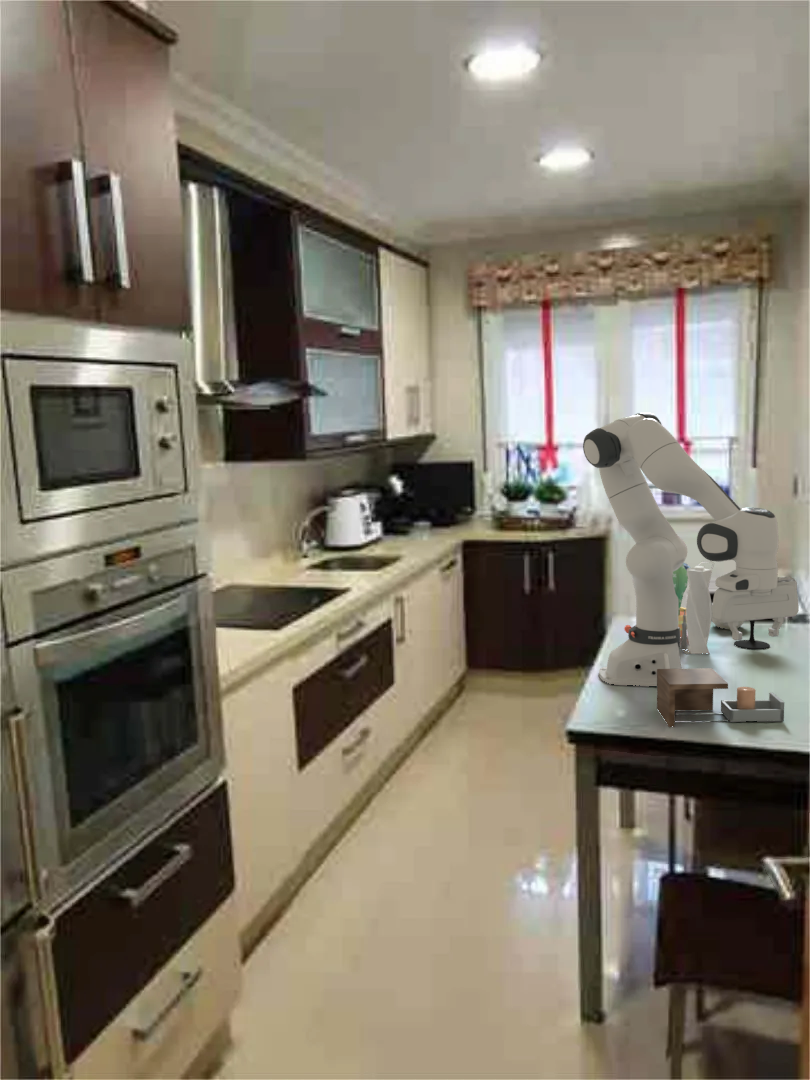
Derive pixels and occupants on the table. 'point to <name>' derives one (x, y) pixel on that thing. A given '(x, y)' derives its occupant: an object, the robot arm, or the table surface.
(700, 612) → the skyscraper
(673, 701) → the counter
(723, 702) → the tray
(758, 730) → the table surface
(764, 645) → the wine glass
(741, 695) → the peach cylinder
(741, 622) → the teacup
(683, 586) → the potted cactus
